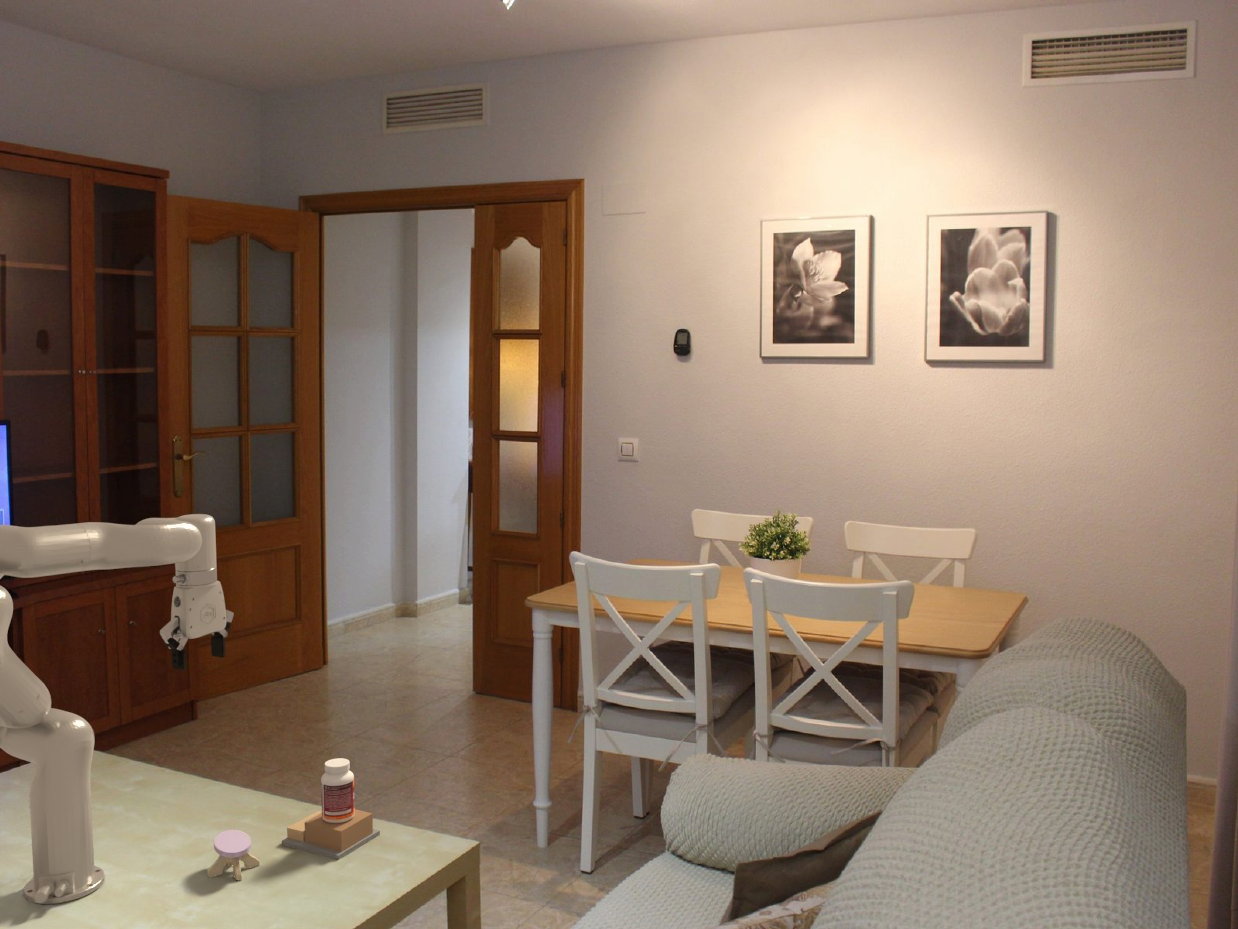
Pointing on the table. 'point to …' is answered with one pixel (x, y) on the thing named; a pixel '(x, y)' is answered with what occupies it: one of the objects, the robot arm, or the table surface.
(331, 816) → the pill bottle
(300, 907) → the table surface
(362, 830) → the stand
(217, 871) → the toy table
